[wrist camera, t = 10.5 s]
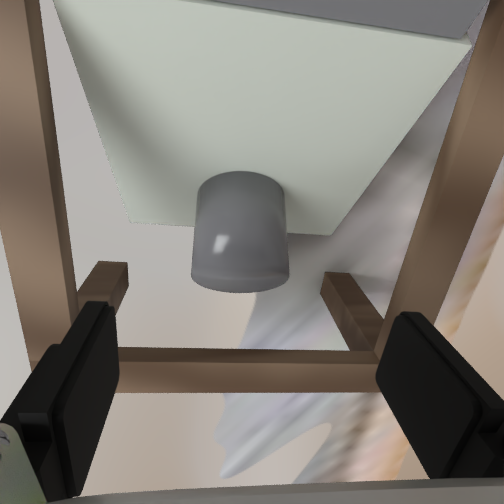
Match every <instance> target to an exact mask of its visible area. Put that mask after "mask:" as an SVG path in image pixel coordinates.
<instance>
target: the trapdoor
mask: <svg viewBox="0 0 504 504" xmlns="http://www.w3.org/2000/svg"><path fill="white" fill-rule="evenodd" d="M487 1H488V0H53V2H54V5H55V8H56V11H57V14H58V17H59V20H60V22H61V25H62V28H63V31H64V34H65V37H66V40H67V43H68V45H69V48H70V51H71V54H72V57H73V60H74V63H75V66H76V68H77V71H78V74H79V77H80V80H81V83H82V86H83V89H84V91H85V94H86V97H87V100H88V103H89V106H90V109H91V112H92V115H93V117H94V120H95V123H96V126H97V128H98V132H99V135H100V138H101V140H102V143H103V146H104V149H105V152H106V155H107V158H108V161H109V163H110V166H111V169H112V172H113V175H114V178H115V181H116V184H117V186H118V189H119V192H120V195H121V198H122V200H123V204H124V206H125V209H126V212H127V215H128V218H129V221H130V223H145V224H159V225H160V224H161V225H175V226H192V227H195V216H196V203H197V192H198V189H199V188H200V186H201V185H202V184H203V183H204V182H205V181H206V180H208V179H209V178H211V177H213V176H215V175H218V174H221V173H226V172H232V171H248V172H255V173H259V174H262V175H265V176H267V177H270V178H271V179H273V180H275V181H276V182H277V183H278V184H279V185H280V186H281V187H282V189H283V191H284V195H285V209H286V226H287V233H299V234H314V235H330V236H331V235H332V234H333V232H334V231H335V229H336V228H337V227H338V225H339V224H340V223H341V221H342V220H343V219H344V217H345V216H346V215H347V213H348V212H349V211H350V209H351V208H352V207H353V205H354V204H355V203H356V201H357V200H358V199H359V197H360V196H361V195H362V193H363V192H364V191H365V189H366V188H367V187H368V185H369V184H370V182H371V181H372V180H373V178H374V177H375V176H376V174H377V173H378V172H379V170H380V169H381V168H382V166H383V165H384V164H385V162H386V161H387V160H388V158H389V157H390V156H391V154H392V153H393V152H394V150H395V149H396V148H397V146H398V145H399V144H400V142H401V141H402V140H403V138H404V137H405V135H406V134H407V133H408V131H409V130H410V129H411V127H412V126H413V125H414V123H415V122H416V121H417V119H418V118H419V117H420V115H421V114H422V113H423V111H424V110H425V109H426V107H427V106H428V105H429V103H430V102H431V101H432V99H433V98H434V97H435V95H436V94H437V93H438V91H439V90H440V89H441V87H442V86H443V84H444V83H445V82H446V80H447V79H448V78H449V76H450V75H451V74H452V72H453V71H454V70H455V68H456V67H457V66H458V64H459V63H460V62H461V60H462V59H463V58H464V56H465V55H466V54H467V52H468V51H469V50H470V48H471V47H472V44H471V42H470V40H469V37H468V35H467V33H466V31H467V29H468V28H469V27H470V25H471V24H472V22H473V21H474V19H475V18H476V17H477V15H478V14H479V12H480V11H481V9H482V8H483V7H484V5H485V4H486V2H487Z"/></svg>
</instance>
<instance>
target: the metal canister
mask: <svg viewBox="0 0 504 504" xmlns="http://www.w3.org/2000/svg"><path fill="white" fill-rule="evenodd" d="M191 277H192V279H193V280H194V281H195V282H196V283H197V284H199V285H201V286H203V287H205V288H208V289H212V290H216V291H222V292H230V293H252V292H260V291H266V290H270V289H273V288H276V287H278V286H281V285H282V284H284V283H285V282H286V281H287V280H288V279H289V259H288V242H287V226H286V209H285V195H284V191H283V189H282V187H281V186H280V185H279V184H278V183H277V182H276V181H275V180H273V179H271V178H270V177H267V176H265V175H262V174H259V173H255V172H248V171H232V172H226V173H221V174H218V175H215V176H213V177H211V178H209V179H208V180H206V181H205V182H204V183H203V184H202V185H201V186H200V188H199V189H198V192H197V203H196V216H195V229H194V243H193V256H192V270H191Z"/></svg>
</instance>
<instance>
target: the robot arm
mask: <svg viewBox="0 0 504 504" xmlns="http://www.w3.org/2000/svg"><path fill="white" fill-rule="evenodd" d="M119 375H120V369H119V356H118V343H117V330H116V317H115V308H114V306H109V304H108V302H107V301H87V302H86V303H85V305H84V306H83V308H82V309H81V311H80V313H79V314H78V316H77V318H76V319H75V321H74V322H73V324H72V326H71V327H70V329H69V331H68V332H67V334H66V335H65V337H64V339H63V340H62V342H61V343H60V344H52V345H50V346H49V347H48V349H47V350H46V351H45V353H44V355H43V356H42V358H41V359H40V361H39V362H38V364H37V365H36V367H35V368H34V370H33V371H32V373H31V374H30V376H29V378H28V379H27V380H26V382H25V384H24V385H23V387H22V388H21V390H20V391H19V393H18V394H17V396H16V397H15V399H14V400H13V402H12V403H11V405H10V406H9V408H8V409H7V411H6V413H5V414H4V416H3V417H2V419H1V420H0V504H504V400H503V399H501V397H500V396H499V395H498V394H497V393H496V392H495V391H494V390H493V389H492V388H491V387H490V386H489V384H488V383H487V382H486V381H485V380H484V379H483V378H482V377H481V376H480V375H479V374H478V373H477V372H476V371H475V370H474V368H473V367H471V365H470V364H469V363H468V362H467V361H466V360H465V359H464V358H463V357H462V356H461V355H460V354H459V352H458V351H456V349H455V348H454V347H453V346H452V345H451V344H450V343H449V342H448V341H447V340H446V339H445V338H444V336H443V335H442V334H441V333H440V332H439V331H438V330H437V329H436V328H435V327H434V326H433V325H432V324H431V323H430V322H429V321H428V319H427V318H426V317H425V316H424V315H423V314H422V313H420V312H411V311H403V312H401V313H400V314H399V315H398V316H396V317H395V319H394V322H393V324H392V327H391V330H390V333H389V336H388V339H387V342H386V345H385V348H384V350H383V353H382V356H381V359H380V362H379V365H378V368H377V371H376V374H375V379H376V383H377V385H378V387H379V389H380V391H381V392H382V394H383V396H384V398H385V400H386V401H387V403H388V405H389V407H390V409H391V410H392V412H393V414H394V416H395V418H396V419H397V421H398V423H399V425H400V427H401V428H402V430H403V432H404V434H405V436H406V437H407V439H408V441H409V443H410V445H411V446H412V448H413V450H414V451H415V453H416V455H417V457H418V459H419V460H420V463H421V464H422V466H423V468H424V469H425V472H426V473H427V475H428V477H429V478H430V479H422V480H421V479H420V480H389V481H362V482H336V483H311V484H287V485H263V486H241V487H219V488H198V489H175V490H160V491H144V492H129V493H114V494H102V495H94V496H85V497H78V496H80V494H81V492H82V490H83V487H84V484H85V481H86V478H87V475H88V472H89V469H90V466H91V463H92V460H93V457H94V454H95V451H96V448H97V445H98V442H99V439H100V436H101V433H102V430H103V427H104V424H105V421H106V418H107V415H108V412H109V409H110V406H111V403H112V400H113V397H114V394H115V391H116V388H117V385H118V382H119ZM76 496H77V497H76ZM73 497H76V498H73Z"/></svg>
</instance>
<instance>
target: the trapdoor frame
mask: <svg viewBox="0 0 504 504" xmlns="http://www.w3.org/2000/svg"><path fill="white" fill-rule="evenodd" d="M503 155H504V0H490V2H489V5H488V8H487V11H486V14H485V17H484V20H483V23H482V26H481V29H480V32H479V35H478V38H477V41H476V45H475V48H474V51H473V54H472V57H471V60H470V63H469V66H468V69H467V72H466V75H465V78H464V81H463V84H462V87H461V90H460V93H459V96H458V99H457V102H456V105H455V108H454V111H453V114H452V117H451V120H450V123H449V126H448V129H447V132H446V135H445V138H444V141H443V144H442V147H441V150H440V153H439V156H438V159H437V162H436V165H435V168H434V171H433V174H432V177H431V180H430V183H429V186H428V189H427V192H426V195H425V198H424V201H423V204H422V207H421V210H420V213H419V216H418V219H417V222H416V225H415V228H414V231H413V234H412V237H411V240H410V243H409V246H408V249H407V252H406V255H405V258H404V261H403V264H402V267H401V270H400V273H399V276H398V279H397V282H396V285H395V288H394V291H393V294H392V297H391V300H390V303H389V306H388V309H387V312H386V315H385V318H384V319H383V318H382V317H381V315H380V314H379V313H378V311H377V310H376V309H375V307H374V306H373V305H372V303H371V302H370V301H369V299H368V298H367V297H366V295H365V294H364V293H363V291H362V290H361V289H360V287H359V286H358V284H357V283H356V282H355V280H354V279H353V278H352V276H351V275H350V274H349V273H334V272H325V275H324V279H323V283H322V288H321V292H320V294H321V296H322V298H323V300H324V302H325V304H326V306H327V308H328V309H329V311H330V313H331V315H332V317H333V319H334V321H335V323H336V325H337V327H338V329H339V330H340V332H341V334H342V336H343V338H344V340H345V342H346V344H347V346H348V348H349V350H350V351H335V350H273V349H207V348H148V347H118V356H119V369H120V375H119V382H118V385H117V388H116V391H115V393H319V392H381V391H380V389H379V387H378V385H377V383H376V379H375V374H376V371H377V368H378V365H379V362H380V359H381V356H382V353H383V350H384V348H385V345H386V342H387V339H388V336H389V333H390V330H391V327H392V324H393V322H394V319H395V317H396V316H398V315H399V314H400V313H401V312H403V311H411V312H420V313H422V314H423V315H424V316H425V317H426V318H427V319H428V321H429V322H430V323H431V324H432V325H434V323H435V320H436V318H437V316H438V313H439V311H440V308H441V306H442V303H443V301H444V299H445V296H446V294H447V291H448V289H449V286H450V284H451V282H452V279H453V277H454V274H455V272H456V269H457V267H458V264H459V262H460V260H461V257H462V255H463V252H464V250H465V247H466V245H467V243H468V240H469V238H470V235H471V233H472V230H473V228H474V226H475V223H476V221H477V218H478V216H479V213H480V211H481V208H482V206H483V204H484V201H485V199H486V196H487V194H488V191H489V189H490V187H491V184H492V182H493V179H494V177H495V174H496V172H497V170H498V167H499V165H500V162H501V160H502V157H503ZM0 230H1V235H2V239H3V244H4V248H5V253H6V257H7V262H8V267H9V271H10V276H11V280H12V284H13V289H14V294H15V298H16V302H17V307H18V312H19V316H20V321H21V325H22V330H23V334H24V339H25V343H26V348H27V353H28V357H29V362H30V366H31V371H33V370H34V368H35V367H36V365H37V364H38V362H39V361H40V359H41V358H42V356H43V355H44V353H45V351H46V350H47V349H48V347H49V346H50V345H52V344H60V343H61V342H62V340H63V339H64V337H65V335H66V334H67V332H68V331H69V329H70V327H71V326H72V324H73V322H74V321H75V319H76V318H77V316H78V314H79V313H80V311H81V309H82V308H83V306H84V305H85V303H86V302H87V301H107V302H108V304H109V306H114V308H115V315H116V313H117V311H118V309H119V306H120V304H121V302H122V300H123V298H124V295H125V293H126V291H127V289H128V286H129V283H128V265H127V262H108V261H98V263H97V264H96V265H95V267H94V268H93V270H92V271H91V273H90V274H89V275H88V277H87V279H86V280H85V281H84V283H83V284H82V286H81V287H80V289H79V290H78V291H77V289H76V282H75V274H74V266H73V258H72V252H71V243H70V235H69V228H68V220H67V212H66V204H65V197H64V189H63V181H62V173H61V167H60V158H59V150H58V143H57V135H56V127H55V120H54V112H53V104H52V97H51V88H50V81H49V73H48V66H47V58H46V50H45V42H44V34H43V27H42V19H41V11H40V4H39V0H0Z"/></svg>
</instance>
